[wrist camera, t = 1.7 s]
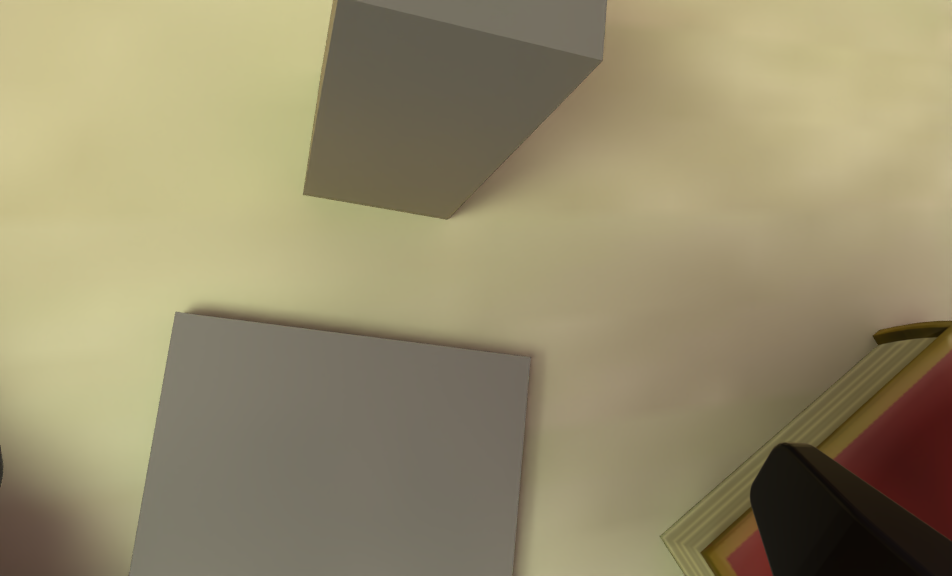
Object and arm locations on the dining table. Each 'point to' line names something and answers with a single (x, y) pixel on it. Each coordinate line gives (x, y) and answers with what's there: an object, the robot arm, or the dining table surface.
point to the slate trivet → (330, 456)
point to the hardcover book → (846, 450)
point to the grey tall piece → (440, 94)
